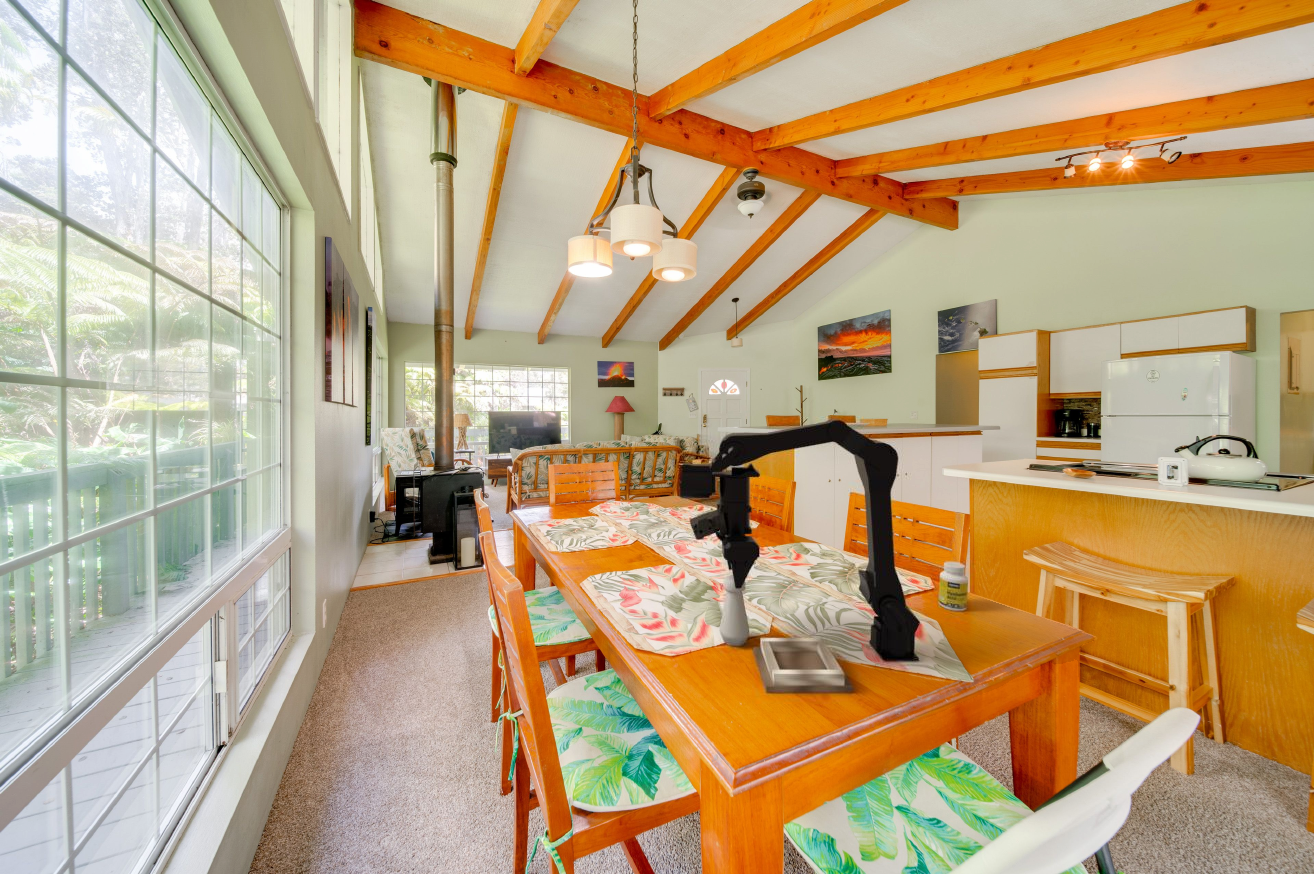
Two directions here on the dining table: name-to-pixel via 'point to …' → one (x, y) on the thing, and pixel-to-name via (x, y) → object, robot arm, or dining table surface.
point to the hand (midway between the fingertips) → (734, 578)
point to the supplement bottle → (953, 587)
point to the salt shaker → (734, 615)
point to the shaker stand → (799, 666)
